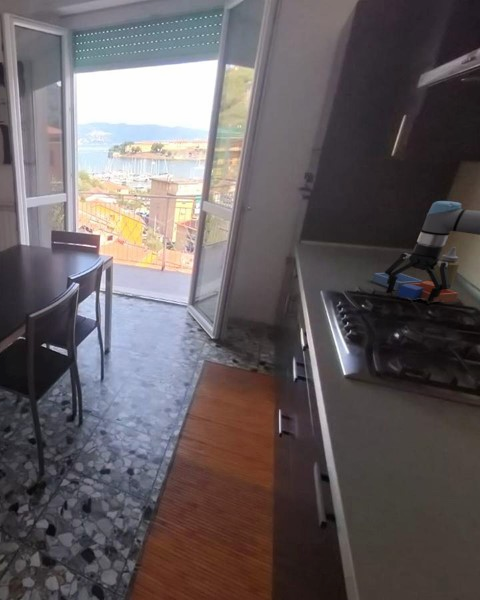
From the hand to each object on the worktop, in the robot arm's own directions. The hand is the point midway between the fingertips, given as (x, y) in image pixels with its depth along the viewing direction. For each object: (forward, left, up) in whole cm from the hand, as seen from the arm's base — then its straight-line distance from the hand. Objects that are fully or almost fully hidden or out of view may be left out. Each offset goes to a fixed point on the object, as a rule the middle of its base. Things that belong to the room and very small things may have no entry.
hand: (407, 298), depth 139 cm
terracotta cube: (0, -9, 0) cm, 9 cm away
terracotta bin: (0, -9, 0) cm, 9 cm away
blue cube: (0, 0, 0) cm, 0 cm away
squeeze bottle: (+6, -21, 0) cm, 22 cm away
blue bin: (+13, -9, 0) cm, 16 cm away
